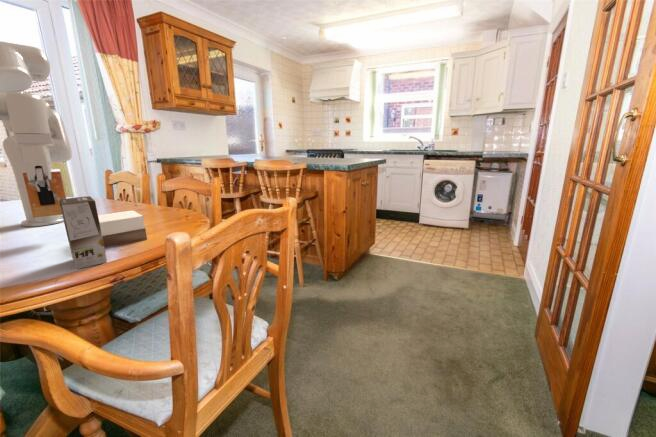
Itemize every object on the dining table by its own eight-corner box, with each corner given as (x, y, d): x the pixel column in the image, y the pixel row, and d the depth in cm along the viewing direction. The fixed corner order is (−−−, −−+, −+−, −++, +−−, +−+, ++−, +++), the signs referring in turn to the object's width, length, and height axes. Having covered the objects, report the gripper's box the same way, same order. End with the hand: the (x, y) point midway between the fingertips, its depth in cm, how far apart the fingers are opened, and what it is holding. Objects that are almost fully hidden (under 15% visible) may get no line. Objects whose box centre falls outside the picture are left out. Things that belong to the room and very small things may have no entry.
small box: (33, 218, 84) (21, 172, 80) (33, 213, 88) (21, 170, 85) (70, 214, 89) (60, 170, 86) (68, 209, 94) (59, 168, 90)
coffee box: (108, 262, 75) (96, 200, 71) (75, 269, 71) (60, 204, 67) (102, 253, 81) (90, 195, 77) (72, 259, 77) (57, 198, 73)
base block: (97, 239, 94) (94, 227, 93) (140, 232, 101) (139, 221, 100) (99, 249, 85) (96, 236, 84) (147, 241, 93) (145, 228, 92)
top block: (94, 228, 92) (91, 216, 91) (135, 221, 99) (133, 210, 98) (101, 236, 84) (98, 222, 83) (144, 228, 92) (142, 215, 91)
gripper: (19, 139, 87) (34, 198, 92) (9, 141, 74) (27, 210, 79) (53, 139, 92) (66, 195, 97) (50, 141, 79) (64, 206, 84)
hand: (48, 201), depth 88 cm, fingers closed on small box, 6 cm apart
